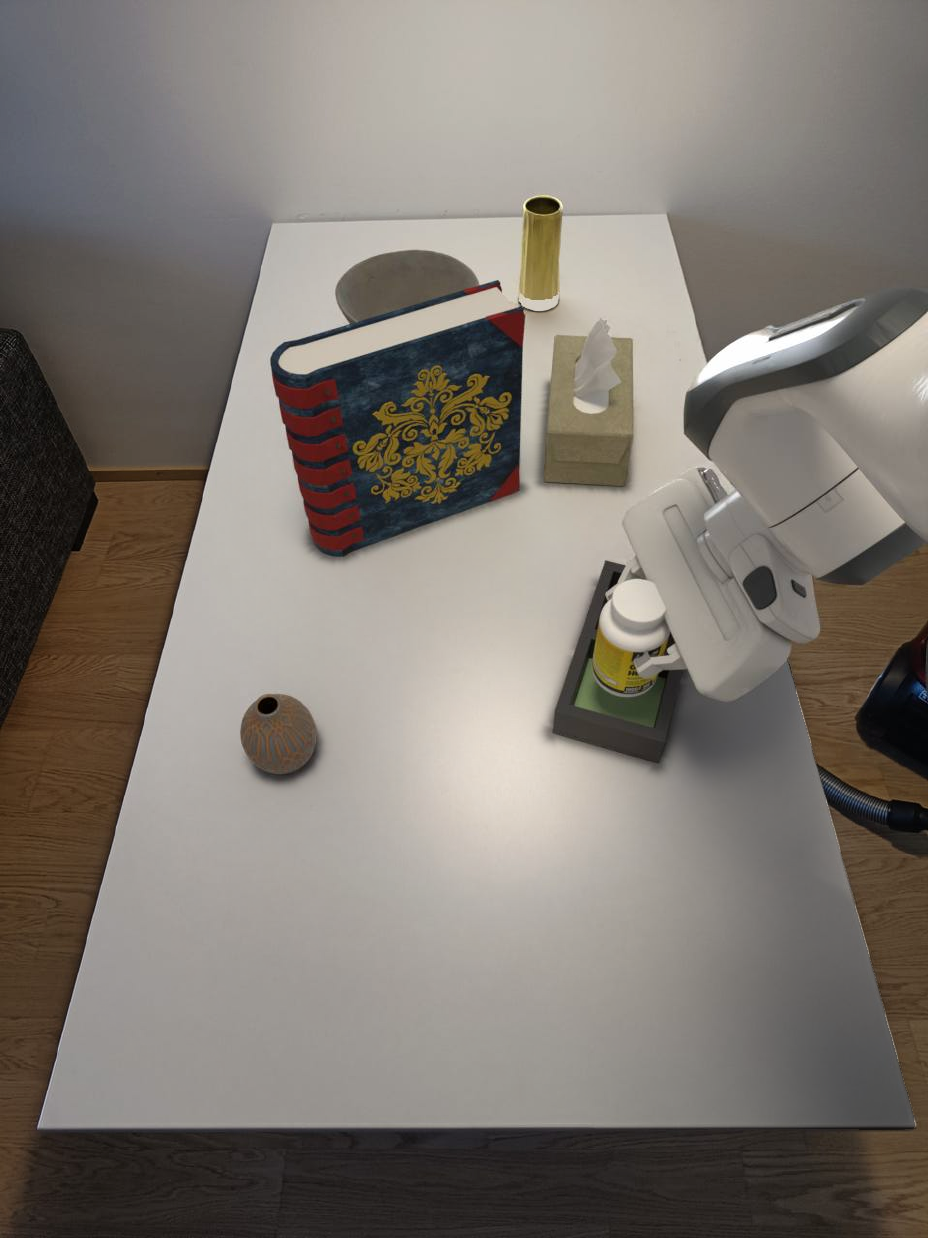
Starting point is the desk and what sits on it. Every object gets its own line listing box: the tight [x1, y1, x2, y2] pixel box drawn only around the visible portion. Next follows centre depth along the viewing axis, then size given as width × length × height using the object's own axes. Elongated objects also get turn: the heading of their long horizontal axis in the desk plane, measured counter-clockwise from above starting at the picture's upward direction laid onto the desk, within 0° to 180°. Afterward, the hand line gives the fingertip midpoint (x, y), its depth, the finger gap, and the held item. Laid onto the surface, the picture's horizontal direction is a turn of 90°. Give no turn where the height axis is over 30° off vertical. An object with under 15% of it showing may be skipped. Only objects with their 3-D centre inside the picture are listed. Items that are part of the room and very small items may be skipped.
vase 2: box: [517, 195, 564, 300], centre depth 123 cm, size 6×6×14 cm
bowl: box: [334, 249, 480, 324], centre depth 118 cm, size 19×19×10 cm
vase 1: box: [239, 693, 318, 775], centre depth 82 cm, size 7×7×9 cm
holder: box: [552, 560, 684, 764], centre depth 89 cm, size 20×10×4 cm, turn 161°
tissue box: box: [543, 317, 634, 487], centre depth 105 cm, size 19×10×16 cm, turn 174°
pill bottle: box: [592, 579, 670, 697], centre depth 79 cm, size 6×6×11 cm
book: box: [269, 279, 526, 557], centre depth 94 cm, size 25×7×25 cm, turn 115°
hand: (625, 636), depth 78 cm, fingers closed on pill bottle, 6 cm apart
